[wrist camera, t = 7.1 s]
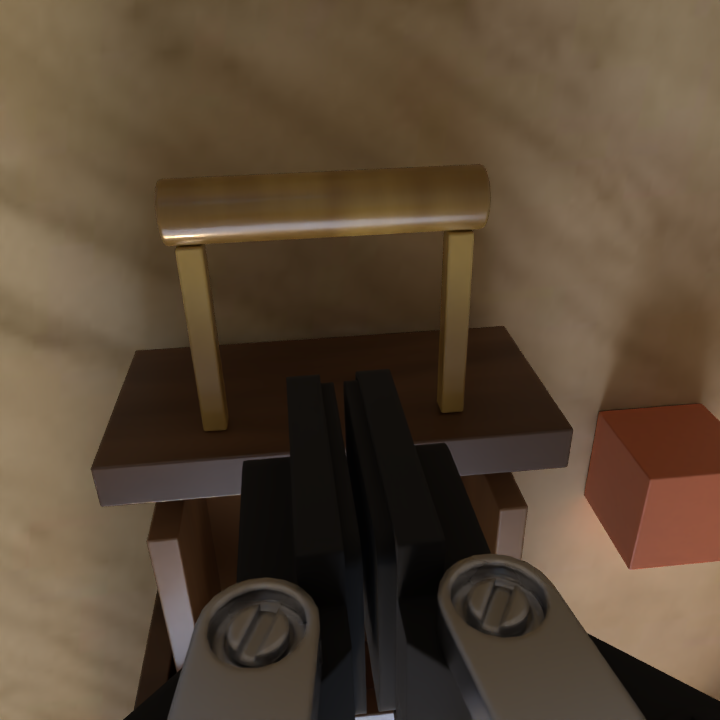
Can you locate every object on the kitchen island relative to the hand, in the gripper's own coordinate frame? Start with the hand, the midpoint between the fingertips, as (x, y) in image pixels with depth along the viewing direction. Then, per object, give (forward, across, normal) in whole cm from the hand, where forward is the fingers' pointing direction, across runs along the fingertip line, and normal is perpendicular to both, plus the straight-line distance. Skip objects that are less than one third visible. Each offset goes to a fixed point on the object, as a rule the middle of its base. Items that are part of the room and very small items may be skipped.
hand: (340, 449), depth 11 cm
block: (+11, -12, +9) cm, 19 cm away
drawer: (+10, 0, +7) cm, 12 cm away
